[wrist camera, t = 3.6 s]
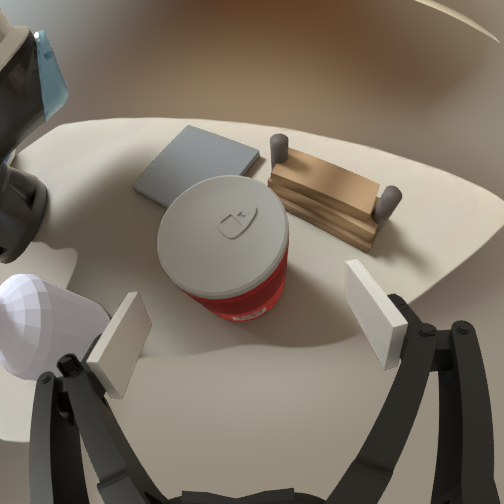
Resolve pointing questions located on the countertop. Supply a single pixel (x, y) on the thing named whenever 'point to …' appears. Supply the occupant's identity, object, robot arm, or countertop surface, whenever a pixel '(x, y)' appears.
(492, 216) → the countertop surface
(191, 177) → the slate mat
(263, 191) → the canned food
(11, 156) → the supplement tub
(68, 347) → the soap bottle
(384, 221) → the offcut rack
